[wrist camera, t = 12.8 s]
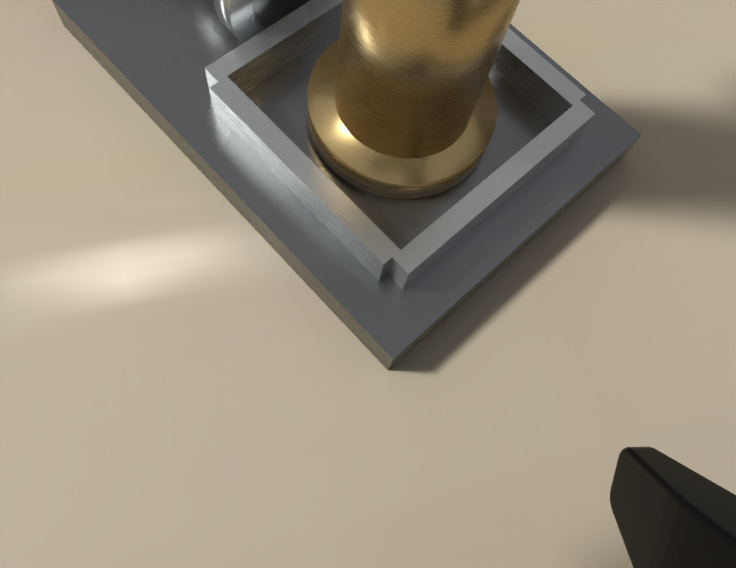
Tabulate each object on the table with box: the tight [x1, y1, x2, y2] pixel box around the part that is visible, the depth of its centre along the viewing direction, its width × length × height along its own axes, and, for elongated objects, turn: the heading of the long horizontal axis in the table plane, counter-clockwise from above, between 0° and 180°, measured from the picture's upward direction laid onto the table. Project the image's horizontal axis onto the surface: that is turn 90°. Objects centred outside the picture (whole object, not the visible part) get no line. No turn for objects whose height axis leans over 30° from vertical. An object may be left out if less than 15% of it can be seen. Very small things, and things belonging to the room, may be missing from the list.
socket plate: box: [52, 0, 640, 370], centre depth 25 cm, size 20×14×7 cm
